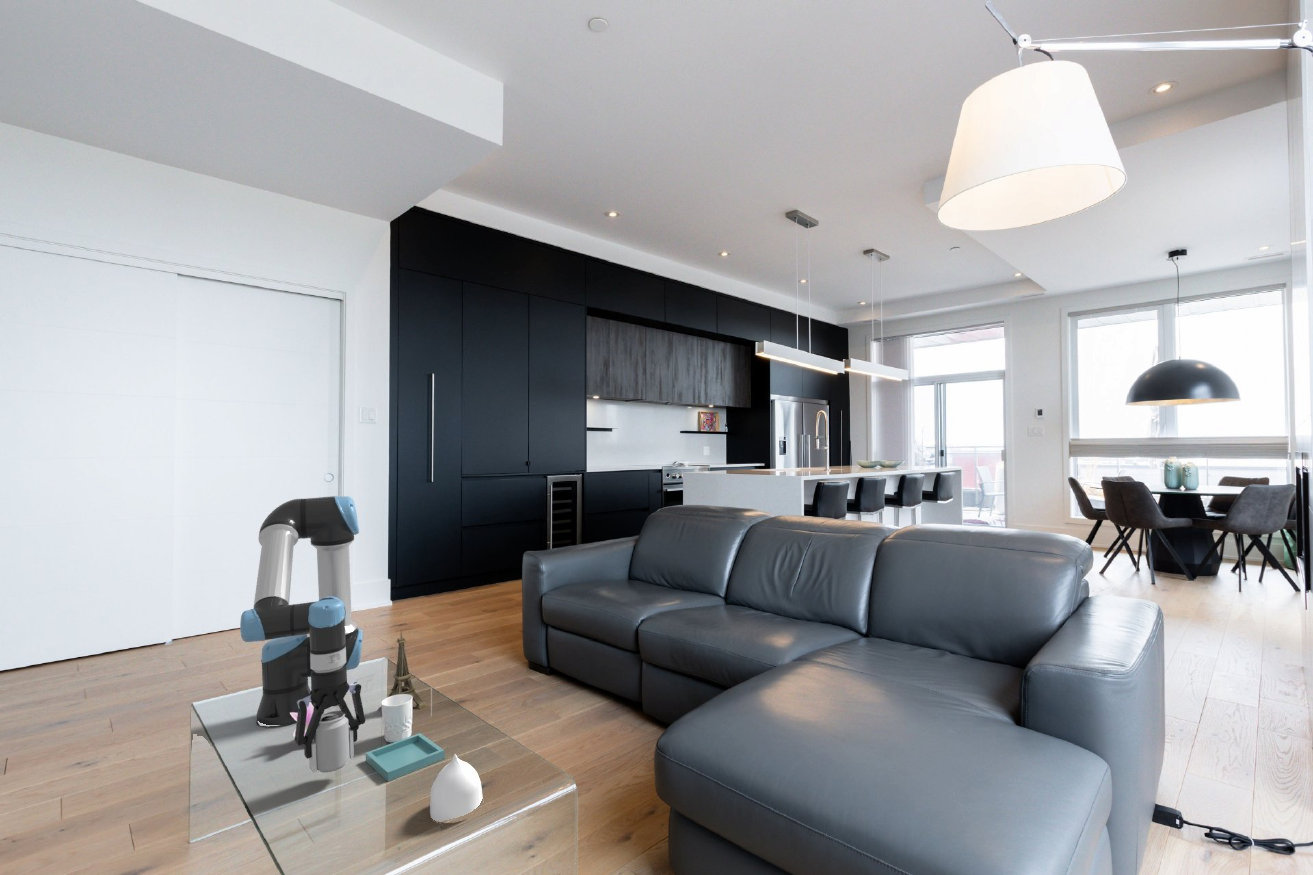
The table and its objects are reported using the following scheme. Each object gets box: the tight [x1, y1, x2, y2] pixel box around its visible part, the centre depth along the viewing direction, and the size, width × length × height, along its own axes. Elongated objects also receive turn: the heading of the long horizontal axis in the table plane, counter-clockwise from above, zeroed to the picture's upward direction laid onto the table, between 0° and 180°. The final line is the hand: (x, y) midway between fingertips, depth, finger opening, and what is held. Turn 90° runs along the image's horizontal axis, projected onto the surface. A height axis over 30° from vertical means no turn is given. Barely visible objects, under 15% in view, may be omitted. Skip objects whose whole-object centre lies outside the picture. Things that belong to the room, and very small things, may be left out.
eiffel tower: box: [378, 631, 429, 711], centre depth 189 cm, size 11×11×25 cm
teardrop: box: [429, 753, 484, 822], centre depth 135 cm, size 11×11×12 cm
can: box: [313, 710, 350, 773], centre depth 148 cm, size 8×8×12 cm
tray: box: [365, 732, 445, 782], centre depth 157 cm, size 14×14×2 cm
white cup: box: [380, 694, 414, 743], centre depth 170 cm, size 8×8×10 cm
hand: (332, 762), depth 148 cm, fingers closed on can, 7 cm apart
